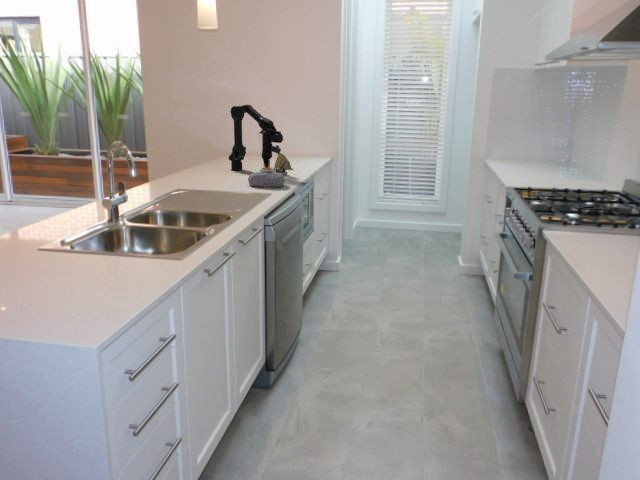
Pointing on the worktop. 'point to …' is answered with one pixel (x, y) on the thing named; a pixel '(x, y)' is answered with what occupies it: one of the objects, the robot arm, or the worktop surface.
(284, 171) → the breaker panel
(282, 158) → the rock
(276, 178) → the small grey backpack
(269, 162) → the orange cube
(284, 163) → the block
